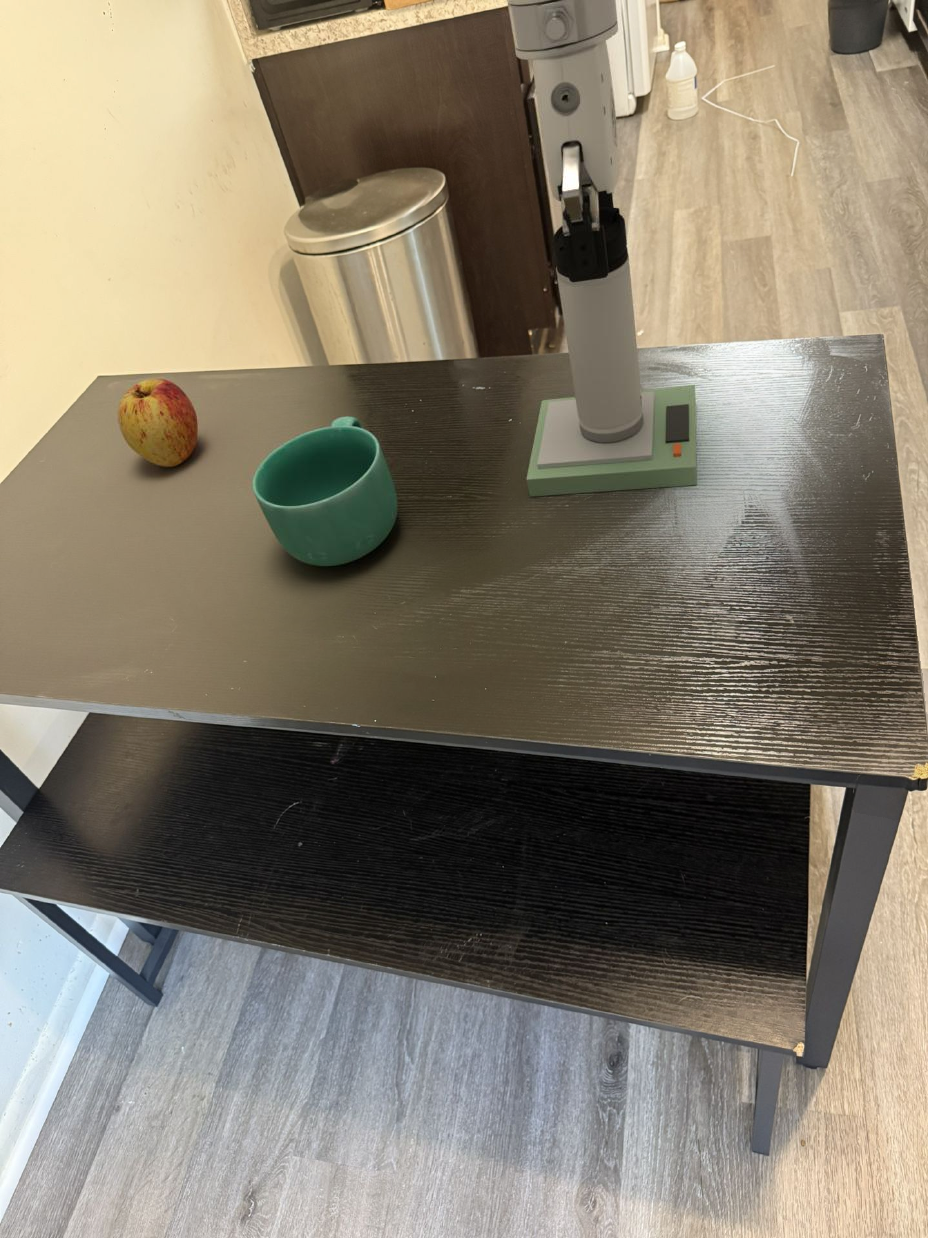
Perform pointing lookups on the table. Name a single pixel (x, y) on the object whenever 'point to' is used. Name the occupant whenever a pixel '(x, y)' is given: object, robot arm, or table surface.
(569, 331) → the travel mug
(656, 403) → the scale
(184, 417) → the apple
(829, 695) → the table surface
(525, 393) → the table surface
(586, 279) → the robot arm
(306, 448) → the mug
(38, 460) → the table surface
